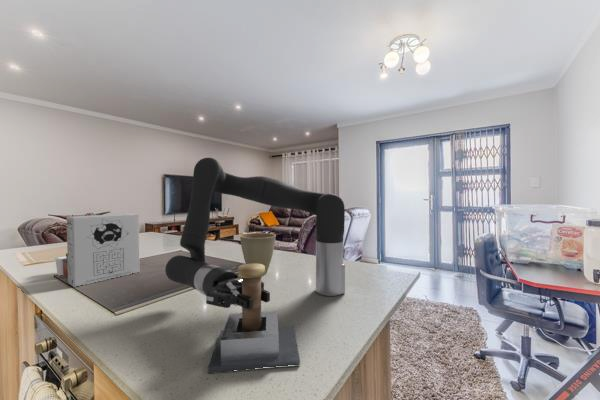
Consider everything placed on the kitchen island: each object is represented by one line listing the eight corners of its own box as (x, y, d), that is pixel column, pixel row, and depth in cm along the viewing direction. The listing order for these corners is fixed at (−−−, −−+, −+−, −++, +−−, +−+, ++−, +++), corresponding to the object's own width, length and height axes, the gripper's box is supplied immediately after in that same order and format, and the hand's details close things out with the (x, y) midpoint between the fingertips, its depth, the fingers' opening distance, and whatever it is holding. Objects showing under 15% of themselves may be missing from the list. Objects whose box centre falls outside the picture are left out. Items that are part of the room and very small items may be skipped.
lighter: (67, 278, 102) (66, 253, 102) (60, 278, 102) (59, 253, 102) (87, 272, 110) (87, 249, 110) (81, 272, 110) (80, 248, 110)
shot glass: (58, 277, 104) (58, 259, 104) (52, 274, 107) (52, 257, 107) (80, 272, 110) (79, 256, 109) (73, 270, 113) (73, 254, 113)
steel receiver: (293, 330, 62) (293, 309, 62) (299, 366, 50) (299, 339, 49) (221, 335, 60) (221, 313, 60) (208, 373, 48) (208, 345, 47)
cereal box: (132, 269, 114) (131, 213, 113) (139, 272, 110) (139, 213, 109) (67, 283, 96) (66, 216, 96) (74, 287, 92) (72, 217, 91)
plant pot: (275, 278, 102) (275, 237, 102) (237, 279, 101) (237, 238, 101) (276, 267, 117) (276, 232, 117) (243, 268, 116) (242, 232, 116)
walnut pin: (265, 326, 58) (265, 263, 58) (264, 340, 53) (264, 270, 53) (239, 328, 58) (239, 263, 57) (236, 342, 52) (236, 271, 52)
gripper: (187, 273, 59) (230, 292, 48) (239, 261, 70) (284, 274, 59) (187, 306, 59) (230, 332, 48) (239, 289, 70) (284, 307, 59)
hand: (260, 300), depth 53 cm, fingers closed on walnut pin, 4 cm apart
